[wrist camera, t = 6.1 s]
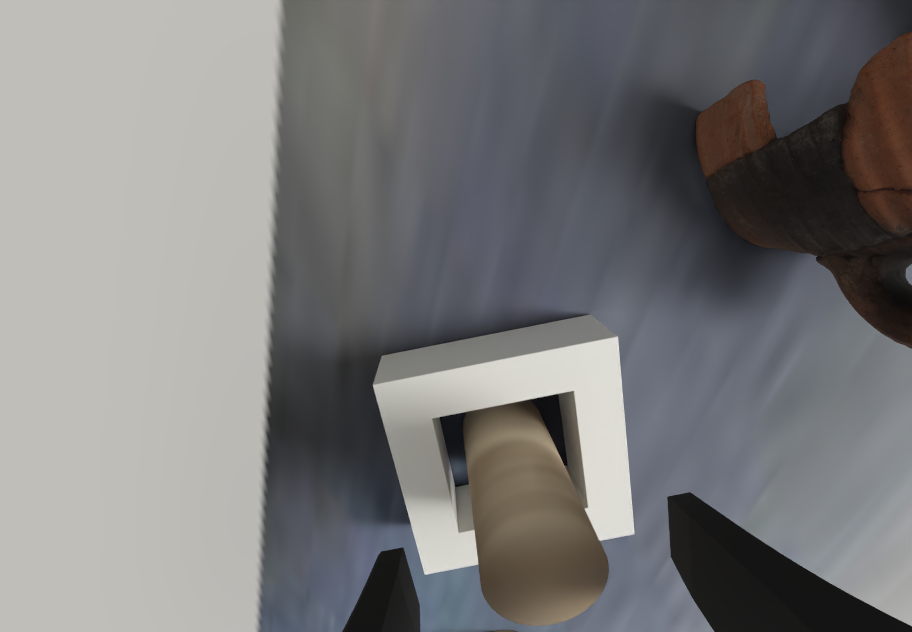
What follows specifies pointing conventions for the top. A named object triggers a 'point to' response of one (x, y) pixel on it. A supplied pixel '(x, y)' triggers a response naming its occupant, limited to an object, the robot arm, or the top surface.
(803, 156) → the pottery mug
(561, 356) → the collar
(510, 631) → the short pin
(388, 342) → the top surface
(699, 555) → the robot arm
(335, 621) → the top surface
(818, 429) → the top surface
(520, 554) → the long pin
